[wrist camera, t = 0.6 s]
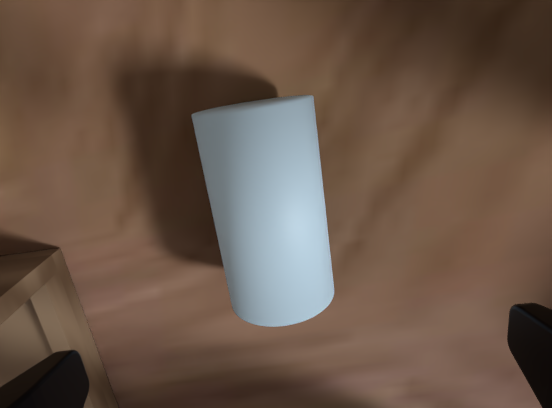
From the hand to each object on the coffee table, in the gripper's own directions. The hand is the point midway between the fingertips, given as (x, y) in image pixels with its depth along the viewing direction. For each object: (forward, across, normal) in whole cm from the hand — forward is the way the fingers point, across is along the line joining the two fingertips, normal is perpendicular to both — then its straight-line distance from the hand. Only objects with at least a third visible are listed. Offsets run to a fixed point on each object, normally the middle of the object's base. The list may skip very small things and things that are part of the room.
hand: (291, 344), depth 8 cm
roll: (+12, +1, 0) cm, 12 cm away
